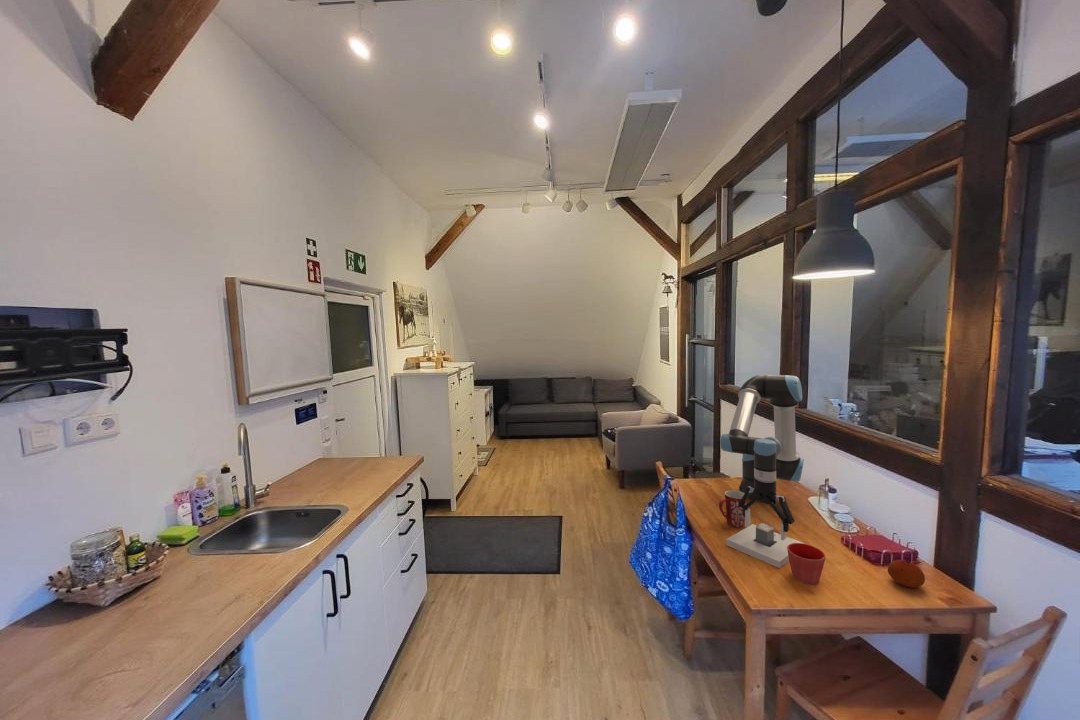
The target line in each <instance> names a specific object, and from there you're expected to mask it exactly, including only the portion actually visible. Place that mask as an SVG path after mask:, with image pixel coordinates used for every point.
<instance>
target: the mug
mask: <svg viewBox="0 0 1080 720" xmlns="http://www.w3.org/2000/svg"><path fill="white" fill-rule="evenodd" d="M723 494H724V498H722V499H720V500H719V502H718V508H719V511H720V513H721V515H722V516H723V517H724V518H725V519H726V524H727V525H729V526H731V527H732V528H733V527H734V528H744V527H746V526H745V517H744V516H743V508H741V507H739V506H738V504H739V502H740V501H741V499H742V497H743V496H744V494H745V493H743V492H740V491H739V490H733V489H732V490H726V491H724V493H723ZM724 503H725V512H724V509H723V505H724ZM746 504H747V501H746V502H745V505H746Z"/></svg>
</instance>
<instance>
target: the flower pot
mask: <svg viewBox="0 0 1080 720" xmlns="http://www.w3.org/2000/svg"><path fill="white" fill-rule="evenodd" d="M803 543H804V542H802V543H792V544H789V545H788V546H787V551H788V557H789V562H788V563H789V566H790V571H791V575H792V577H793V578H794V579H795V580H796V581H798V582H800V583H802V584H805V585H810V586H813V585H817V584H819V583H820V580H821V576H822V573H823V569H824V565H825V563H826V562H825V561H826V554H825V552H823V551H822V550H821V549H819V548H818V547H816V546H813V545H810V544H807V543H805V544H803Z"/></svg>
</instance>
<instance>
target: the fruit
mask: <svg viewBox="0 0 1080 720" xmlns="http://www.w3.org/2000/svg"><path fill="white" fill-rule="evenodd" d="M887 574H888V575H889V576H890V577H891V579H893V580H894V581H895V582H896V583H898V584H900V585H901V586H903V587H906V588H910V589H911V588H913V589H914V588H919V587H922V586H924V584H925V582H926V578H925V576H926V575H925V573H924V572H923V570H922V569H921V568H920V567H919V566H918V565H916V564H915V563H913V562H912V561H909V560H906V559H895V560H892V561H891V562H890V563H889V564H888V566H887Z"/></svg>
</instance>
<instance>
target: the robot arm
mask: <svg viewBox="0 0 1080 720" xmlns="http://www.w3.org/2000/svg"><path fill="white" fill-rule="evenodd" d="M737 397H738V402H737V405H736V408H735V412H734V415H733V419H732V422H731V425H730V428H729V431H728V433H723V434H722V435H720V439H719V441H720V443H719V444H720V445H719V446H720V449H721V450H722V451H723V452H727V453H732V454H733V453H734V454H741V455H742V457H741V461H742V473H741V474H742V476H741V477H742V479H741V482H740V484H739V486H738V491H740V492H743V493H745V494H744V496H743V497H742V499H741V501H740V502H739V504H738V506H739V507H741V508H743V516H744V517H745V526H744V527H745V528H747V527H749V526H750V525H751V509H750V507H751V506H753V505H754V504H755V503H756V502H757V501H758V502H759V503H764V504H765V505H769V506H770V507H771V508H772V509H773V511H774V512H775V513H776V514H777V516H778V518H779V519H780V520H781V523H780V534H781V540H784V539H786V537H787V533H788V532H789V530H790V527H789V526H790V525H792V524H794V523H795V519H794V516H793V514H792V512H791V510H790V507H789V505H788V504H787V502H786V501H787V500H786V496H785V495H777V480H782V481H788V482H795V483H798V482H800V481H801V478H802V472H803V468H804V458H802V457H801V455H800V453H799V452H798V451H797V446H796V445H797V443H796V442H797V440H796V437H797V436H796V434H797V433H796V411H795V410H796V407H797V406H798V405H799V402H802V400H803V388H802V383H801V379H800V378H799V377H797V376H796V375H787V374H785V375H784V374H783V375H782V374H758V375H754V376H752V377H751V378H749V379H748V380H746V381H745V382H744V383H743V384H742V386H741V387H740V389H739V390H738V394H737ZM762 399H763V400H769V404H770V405H771V406H772V407H773V418H774V419H773V421H774V424H773V425H774V437H773V436H767V437H764V438H762V437H753V436H749V434H750V431H751V428H752V427H751V426H752V423H753V419H754V415H755V412H756V409H757V404H758V403H760V401H761V400H762ZM749 499H750V500H749ZM748 500H749V501H748ZM747 501H748V503H747ZM745 502H746V505H745ZM778 503H779V504H778Z"/></svg>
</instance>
